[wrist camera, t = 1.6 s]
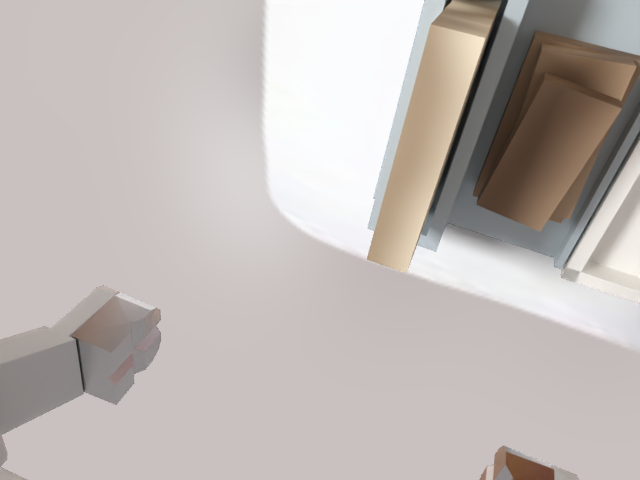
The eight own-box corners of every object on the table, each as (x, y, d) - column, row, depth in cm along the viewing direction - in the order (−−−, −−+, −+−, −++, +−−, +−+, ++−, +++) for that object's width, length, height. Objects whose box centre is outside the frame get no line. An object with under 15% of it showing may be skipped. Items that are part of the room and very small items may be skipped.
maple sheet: (502, -2, 25) (485, 38, 18) (437, 189, 32) (406, 273, 25) (462, -11, 26) (430, 24, 19) (406, 180, 32) (366, 259, 25)
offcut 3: (632, 59, 24) (636, 66, 23) (568, 207, 28) (569, 219, 27) (541, 43, 25) (541, 49, 24) (494, 189, 29) (492, 200, 28)
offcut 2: (618, 99, 24) (622, 108, 23) (540, 219, 28) (540, 231, 27) (544, 71, 24) (544, 79, 23) (478, 193, 28) (476, 204, 27)
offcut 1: (641, 56, 25) (645, 63, 24) (560, 212, 30) (560, 223, 29) (535, 29, 26) (535, 35, 25) (474, 185, 31) (472, 195, 30)
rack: (703, -9, 23) (731, 8, 20) (560, 250, 32) (562, 294, 29) (444, -66, 26) (428, -60, 22) (377, 191, 35) (358, 225, 31)
